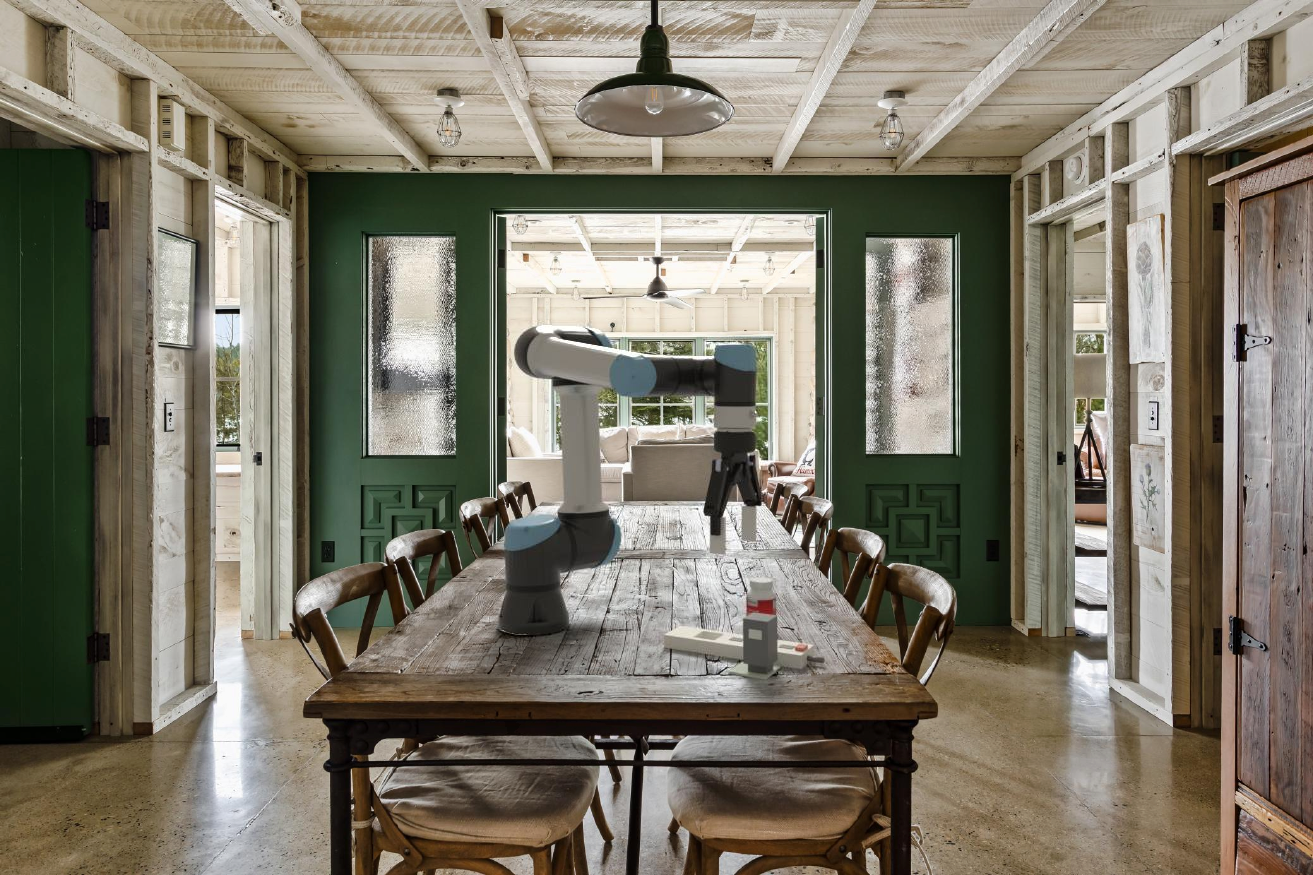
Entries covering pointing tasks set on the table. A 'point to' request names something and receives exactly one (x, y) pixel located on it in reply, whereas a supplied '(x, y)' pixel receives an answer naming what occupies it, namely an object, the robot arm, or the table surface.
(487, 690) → the table surface
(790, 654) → the power strip
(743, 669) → the felt pad
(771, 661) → the block
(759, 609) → the pill bottle
